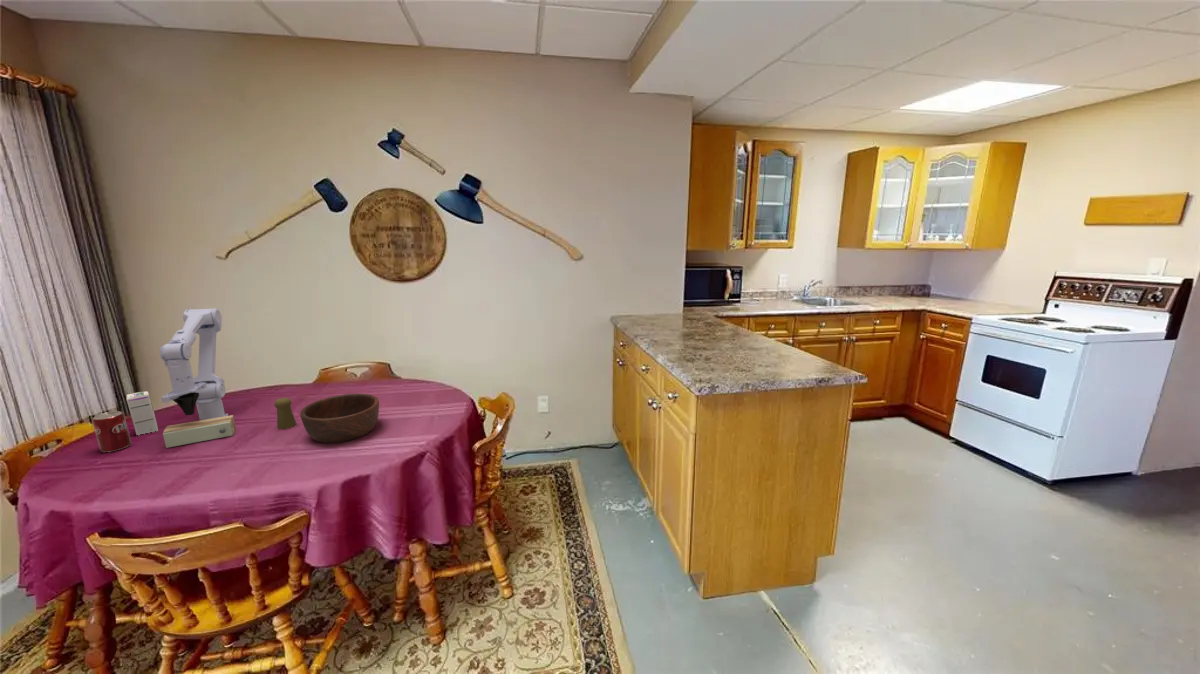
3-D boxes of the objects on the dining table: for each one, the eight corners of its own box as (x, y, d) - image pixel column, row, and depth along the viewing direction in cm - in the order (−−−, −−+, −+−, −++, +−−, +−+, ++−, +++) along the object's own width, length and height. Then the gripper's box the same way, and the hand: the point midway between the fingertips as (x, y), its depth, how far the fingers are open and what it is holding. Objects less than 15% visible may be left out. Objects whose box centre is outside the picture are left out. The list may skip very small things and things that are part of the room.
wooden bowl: (295, 431, 165) (291, 405, 163) (366, 412, 183) (363, 388, 181) (316, 454, 149) (312, 426, 146) (392, 431, 167) (389, 405, 164)
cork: (286, 430, 166) (281, 402, 163) (273, 428, 167) (268, 401, 165) (300, 423, 172) (296, 396, 169) (287, 421, 173) (282, 395, 170)
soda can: (96, 455, 147) (86, 421, 144) (106, 445, 153) (98, 413, 150) (126, 450, 150) (117, 417, 147) (135, 441, 156) (127, 409, 153)
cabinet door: (166, 446, 152) (163, 433, 151) (232, 434, 162) (230, 421, 160) (165, 449, 150) (162, 435, 149) (231, 436, 160) (229, 423, 159)
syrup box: (158, 431, 164) (149, 394, 161) (135, 436, 160) (126, 398, 156) (157, 426, 168) (148, 390, 164) (135, 431, 164) (125, 394, 160)
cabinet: (170, 440, 157) (167, 425, 156) (235, 428, 167) (233, 415, 165) (166, 447, 152) (162, 432, 151) (233, 434, 162) (230, 420, 161)
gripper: (172, 384, 146) (181, 423, 149) (211, 371, 160) (218, 406, 163) (151, 384, 146) (160, 422, 149) (192, 370, 160) (200, 406, 163)
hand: (189, 414), depth 156 cm, fingers closed
